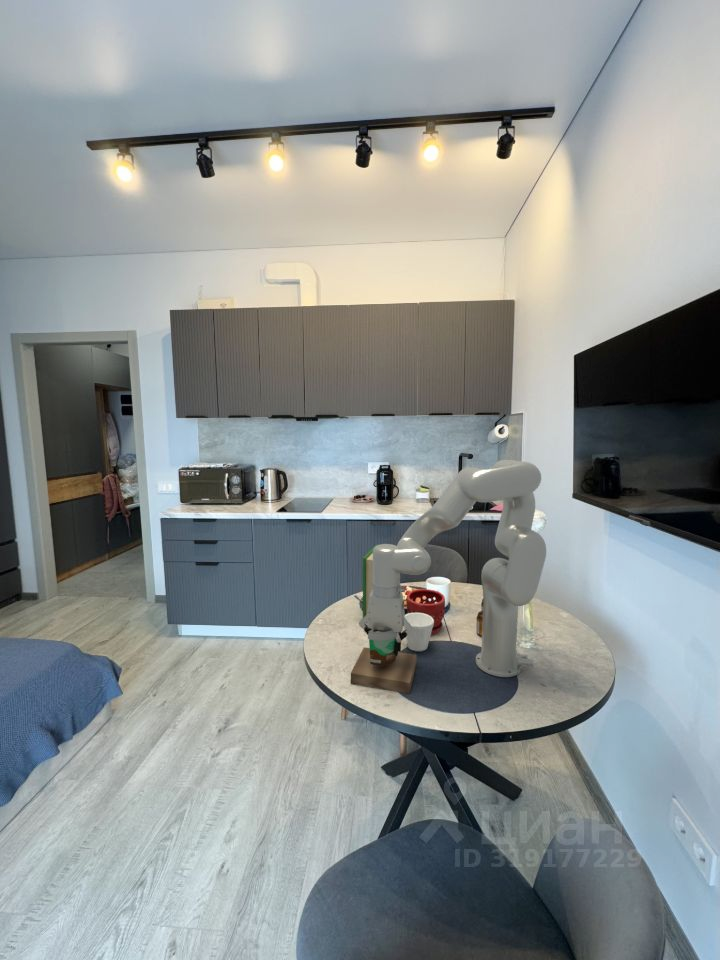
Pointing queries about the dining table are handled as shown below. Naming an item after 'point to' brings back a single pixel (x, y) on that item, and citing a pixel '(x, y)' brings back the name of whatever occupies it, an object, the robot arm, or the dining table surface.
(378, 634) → the food container
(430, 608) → the plant pot
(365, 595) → the hardback book
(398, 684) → the walnut base
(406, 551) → the robot arm
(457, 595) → the dining table surface
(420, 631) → the cup
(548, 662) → the dining table surface
